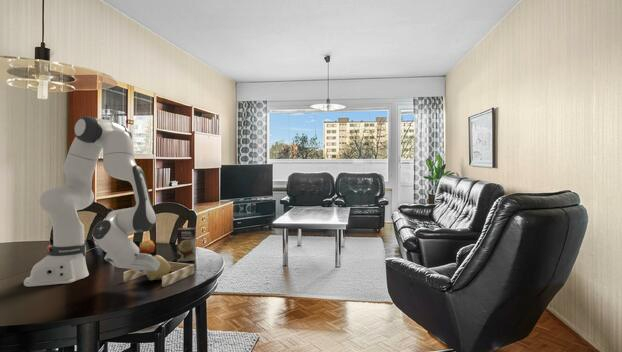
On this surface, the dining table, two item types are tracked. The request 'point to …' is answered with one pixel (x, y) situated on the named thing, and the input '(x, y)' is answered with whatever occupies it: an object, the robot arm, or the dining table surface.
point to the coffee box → (186, 244)
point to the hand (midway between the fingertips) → (145, 272)
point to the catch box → (177, 274)
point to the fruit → (147, 247)
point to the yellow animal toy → (159, 269)
